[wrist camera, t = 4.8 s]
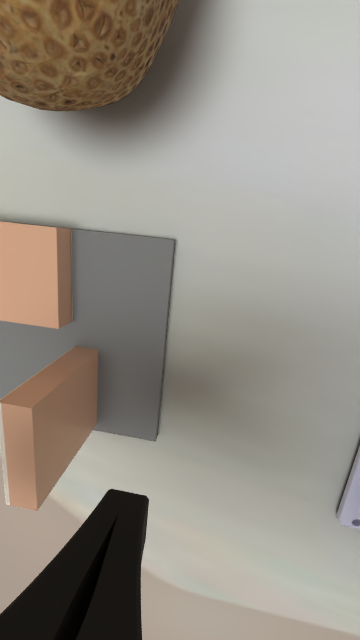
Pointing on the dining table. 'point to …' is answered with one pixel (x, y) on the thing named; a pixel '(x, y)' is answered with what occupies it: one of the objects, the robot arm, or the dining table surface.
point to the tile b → (47, 425)
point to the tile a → (36, 275)
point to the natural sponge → (78, 49)
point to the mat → (107, 328)
